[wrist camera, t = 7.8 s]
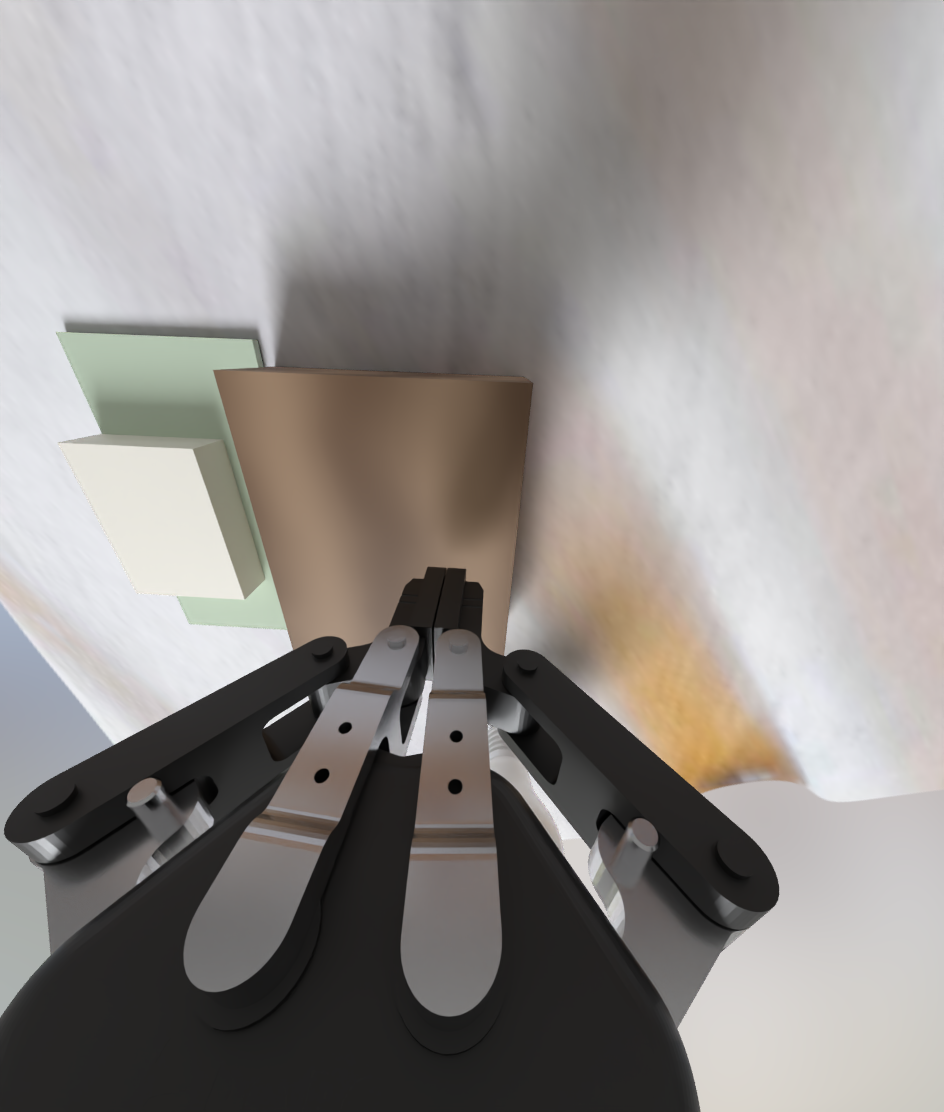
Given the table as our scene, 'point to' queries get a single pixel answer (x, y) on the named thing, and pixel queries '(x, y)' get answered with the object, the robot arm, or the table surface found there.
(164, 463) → the white flat block
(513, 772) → the lightbulb
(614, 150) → the table surface
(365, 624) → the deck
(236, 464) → the mat
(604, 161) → the table surface
